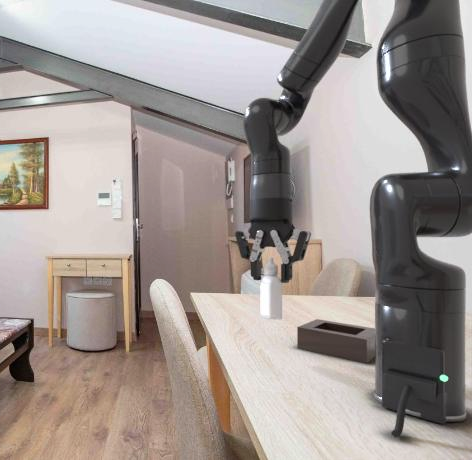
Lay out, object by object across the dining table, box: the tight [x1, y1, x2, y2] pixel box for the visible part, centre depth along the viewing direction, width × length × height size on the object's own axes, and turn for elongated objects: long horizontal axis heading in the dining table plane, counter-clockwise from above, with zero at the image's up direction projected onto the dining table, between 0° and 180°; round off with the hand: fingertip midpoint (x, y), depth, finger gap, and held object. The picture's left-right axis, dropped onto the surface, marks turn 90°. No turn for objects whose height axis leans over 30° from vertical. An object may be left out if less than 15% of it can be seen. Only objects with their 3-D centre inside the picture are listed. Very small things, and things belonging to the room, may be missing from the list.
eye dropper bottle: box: [259, 257, 283, 321], centre depth 77 cm, size 4×6×12 cm
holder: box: [296, 318, 375, 364], centre depth 79 cm, size 12×12×4 cm
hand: (271, 280), depth 77 cm, fingers closed on eye dropper bottle, 4 cm apart
